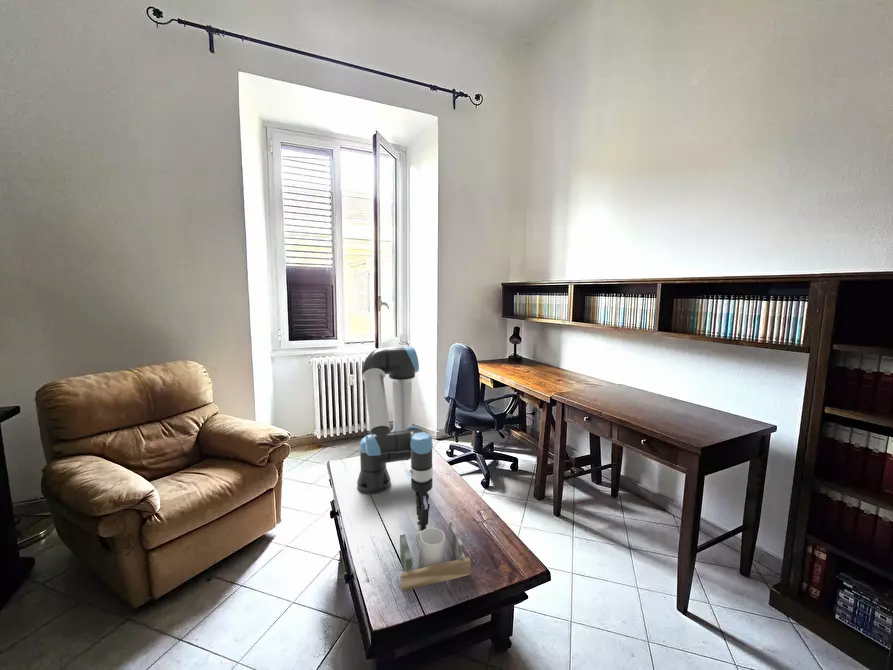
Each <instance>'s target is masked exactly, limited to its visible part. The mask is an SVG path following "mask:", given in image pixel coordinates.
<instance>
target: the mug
mask: <svg viewBox="0 0 893 670" xmlns="http://www.w3.org/2000/svg"><path fill="white" fill-rule="evenodd" d="M419 537H420V540H419ZM415 544H416V547H417V549H418V565H419V569H420V568H424V567H429V566H433V565H437V564H441V563H445V562H444V561H445V549H446V547H445V546H446V535H445V532H444V531H443V530H442V529H440V528H438V527H427V528H426V529H424V530H423V531H419V532H418V531H417V533H416V534H415Z"/></svg>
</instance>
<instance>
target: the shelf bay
mask: <svg viewBox="0 0 893 670" xmlns="http://www.w3.org/2000/svg"><path fill="white" fill-rule="evenodd" d="M463 545H464V544H463V542H462V540H461V538H460V536H459V534H458V532H457V530H456V528H455V525H454V524H453V522H452V521H451V522H448V549H449V552H450V554H451V557H452V559H453V560H451V561H446V562H444V563H441V564H437V565H433V566H429V567H424V568H420V567H419V568H417V569H413V557H412V553H411V549H410V546H409V542H408V540H407V536H406V534H400V535H399V555H400V556H399V557H400V564H401V568H402V572H400V579H401V580H400V584H401V585H400V586H401V587H400V588H401V592H406V591H410V590H414V589H415V590H416V589H418V588H422V587H425V586H430V585H434V584H439V583H441V582H446V581H450V580H454V579H458V578H462V577H466V576H470V575H471V558H470V557H469V556H467V557H466V556H465V553H464V551H463V550H464V549H463Z"/></svg>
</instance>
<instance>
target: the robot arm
mask: <svg viewBox="0 0 893 670" xmlns="http://www.w3.org/2000/svg"><path fill="white" fill-rule="evenodd" d="M419 371H420V363H419V359H418V354H417V351H416V349H415V348H414V347H412V346H405V345H404V346H394V347H393V346H392V347H379V348H376V349H374V350H373V351H372V352H370V353H369V354H368V356H367V357H366V358H365V359H364V362H363V364H362V368H361V377H362V380H363V381H364V384H365V393H366V403H367V405H366V406H367V415H368V425H369V426H368V427H369V434H367V435H365V436H364V437H363V438H361V440H360V442H359V450H358V451H359V453H360V454H359V455H360V456H359V457H360V459H359V462H360V464H359V465H360V471H359V474H358V478H357V481H356V484H357V489H358V491H360V492H362V493H364V494H378V493H382V492H384V491H385V490H387V489H388V488H389V487H390V486H391V476H390V474H389V471H388V468H387V464H388V463H394V462H395V463H396V462H403V461H409V460H410V468H411V469H409V473H410V474H411V475H410V476H411V478H410V481H411V484H410V487H411V490H412V491H413V492H415V493H414V494H415V505H416V506H415V507H416V515H417V520H418V521H417V522H416V523H417V526H418V527H417V530H418V531H417V532H419V531H423V530H424V529H426V528H428V527H427V526H428V525H429V518H430V517H429V516H430V515H429V513H430V508H431V505H430V503H429V499H430V497H429V493H428V492H429V491H431V490H432V489H433V447H434V446H433V445H434V444H433V437H432V435H431V434H429V433H428V432H424V431H423V429H421V427H420V426H417V425H413V423H412V422H413V417H412V416H413V415H412V411H413V409H412V407H413V406H412V402H413V396H412V395H413V394H412V393H413V391H412V389H413V388H412V385H413V384H412V382H413V381H412V380H413V379H414V378H415V377H416V373H418V372H419ZM386 375H388V377H389V379H390V380H391V381H392V421H393V423H392V426H393V427H392V430H391V425H390V418H389V410H388V405H387V397H386V388H385V382H384V378H385V377H386ZM419 541H420V537H419Z"/></svg>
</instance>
